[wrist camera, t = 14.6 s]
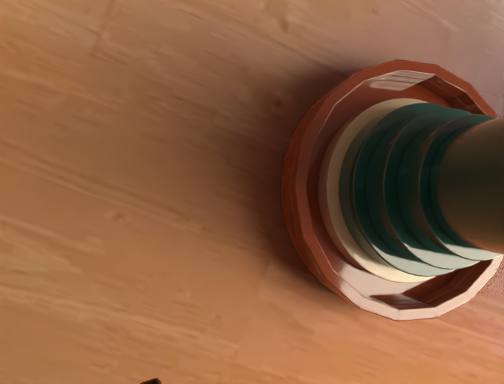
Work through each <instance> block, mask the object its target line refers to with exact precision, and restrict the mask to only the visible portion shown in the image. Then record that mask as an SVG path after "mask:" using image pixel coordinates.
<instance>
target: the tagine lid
mask: <svg viewBox="0 0 504 384" xmlns="http://www.w3.org/2000/svg"><path fill="white" fill-rule="evenodd" d="M318 199H319V207H320V212H321V215H322V219H323V222H324V225H325V227H326V230H327V232H328V234H329V236H330V238H331V240H332V241H333V243H334V244H335V246H336V247H337V249H338V250H339V251H340V252H341V253H342V255H343V256H344V257H345V258H346V259H347V260H348V261H350V262H351V263H352V264H353V265H355V266H356V267H358V268H359V269H361V270H363V271H364V272H366V273H369V274H371V275H374V276H377V277H379V278H382V279H385V280H389V281H393V282H399V283H415V282H421V281H425V280H429V279H431V278H434V277H436V276H439V275H444V274H447V273H450V272H452V271H455V270H456V269H461V268H466V267H469V266H472V265H474V264H476V263H478V262H480V261H486V260H490V259H494V258H497V257H499V256H501V255H504V117H500V118H493V117H491V116H487V115H482V114H472V113H470V112H467V111H465V110H460V109H456V108H448V107H445V106H442V105H438V104H434V103H428V102H425V101H421V100H417V99H408V98H400V99H391V100H387V101H383V102H381V103H378V104H376V105H373V106H371V107H369V108H366V109H364V110H362V111H360V112H359V113H357V114H355V115H354V116H353V117H351V118H350V119H349V120H348V121H346V122H345V123H344V124H343V125H342V127H341V128H340V129H339V130H338V131H337V132H336V134H335V135H334V137H333V138H332V140H331V142H330V143H329V145H328V147H327V149H326V152H325V154H324V157H323V160H322V163H321V168H320V172H319V180H318Z"/></svg>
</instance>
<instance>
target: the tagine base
mask: <svg viewBox="0 0 504 384" xmlns="http://www.w3.org/2000/svg"><path fill="white" fill-rule="evenodd" d="M400 98H408V99H417V100H421V101H425V102H428V103H434V104H438V105H442V106H445V107H448V108H456V109H460V110H465V111H467V112H470V113H472V114H482V115H487V116H491V117H493V118H498V117H497V115H496V113H495V112H494V111H493V110H492V109H491V107H490V106H489V105H488V104H487V103H486V102H485V101H484V99H483V98H482V97H481V96H480V95H479V94H478V92H477V91H476V90H475V89H474V88H473V87H472V86H471V85H470V83H468V82H466V81H464V80H463V79H461V78H459V77H457V76H456V75H454V74H452V73H450V72H449V71H447V70H445V69H443V68H442V67H440V66H438V65H435V64H428V63H421V62H413V61H406V60H398V59H397V60H393V61H390V62H386V63H383V64H379V65H375V66H372V67H368V68H365V69H361V70H359V71H357V72H356V73H354V74H353V75H351V76H350V77H348V78H347V79H345V80H344V81H343V82H341V83H340V84H339V85H338V86H336V87H335V88H334V89H332V90H331V91H329V92H328V93H327V94H325V95H324V96H323V97H321V98H320V99H319V100H318V101H317V102H316V103H315V104H314V105H313V106H312V107H311V108H310V109H309V111H308V112H307V113H306V115H305V116H304V117H303V119H302V120H301V121H300V123H299V125H298V127H297V129H296V130H295V132H294V134H293V136H292V139H291V141H290V144H289V146H288V149H287V152H286V157H285V161H284V165H283V172H282V180H281V199H282V207H283V215H284V219H285V223H286V226H287V230H288V233H289V235H290V238H291V240H292V243H293V245H294V247H295V249H296V251H297V253H298V255H299V256H300V258H301V260H302V261H303V263H304V264H305V265H306V267H307V268H308V269H309V271H310V272H311V273H312V274H313V275H314V276H315V277H316V278H317V279H318V280H319V281H320V282H321V283H322V284H323V285H324V286H326V287H327V288H328V289H330V290H331V291H332V292H334V293H336V294H337V295H338V296H340V297H341V298H342V299H343V300H344V301H346V302H348V303H350V304H352V305H353V306H355V307H357V308H359V309H362V310H365V311H368V312H371V313H374V314H377V315H379V316H382V317H385V318H388V319H391V320H394V321H407V320H419V319H432V318H437V317H439V316H441V315H443V314H445V313H447V312H449V311H451V310H452V309H454V308H456V307H458V306H460V305H462V304H464V303H466V302H468V301H470V300H471V299H472V298H473V297H474V296H475V295H476V294H477V292H478V291H479V290H480V289H481V288H482V287H483V286H484V285H485V284H486V282H487V281H488V280H489V279H490V278H491V277H492V276H493V275H494V274H495V272H496V270H497V269H498V267H499V265H500V262H501V260H502V258H503V256H504V255H501V256H499V257H497V258H494V259H490V260H486V261H480V262H478V263H476V264H474V265H472V266H469V267H466V268H461V269H456V270H455V271H452V272H450V273H447V274H444V275H439V276H436V277H434V278H431V279H429V280H425V281H421V282H415V283H399V282H393V281H389V280H385V279H382V278H379V277H377V276H374V275H371V274H369V273H366V272H364V271H363V270H361V269H359V268H358V267H356V266H355V265H353V264H352V263H351V262H350V261H348V260H347V259H346V258H345V257H344V256H343V255H342V253H341V252H340V251H339V250H338V249H337V247H336V246H335V244H334V243H333V241H332V240H331V238H330V236H329V234H328V232H327V230H326V227H325V225H324V222H323V219H322V215H321V212H320V207H319V199H318V180H319V172H320V168H321V163H322V160H323V157H324V154H325V152H326V149H327V147H328V145H329V143H330V142H331V140H332V138H333V137H334V135H335V134H336V132H337V131H338V130H339V129H340V128H341V127H342V125H343V124H344V123H345V122H346V121H348V120H349V119H350V118H351V117H353V116H354V115H355V114H357V113H359V112H360V111H362V110H364V109H366V108H369V107H371V106H373V105H376V104H378V103H381V102H383V101H387V100H391V99H400Z"/></svg>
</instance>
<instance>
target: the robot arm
mask: <svg viewBox="0 0 504 384" xmlns="http://www.w3.org/2000/svg"><path fill="white" fill-rule="evenodd" d="M140 384H161V381H160V380H159V379H157V378H154V379H151V380H148V381H145V382H142V383H140Z"/></svg>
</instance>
